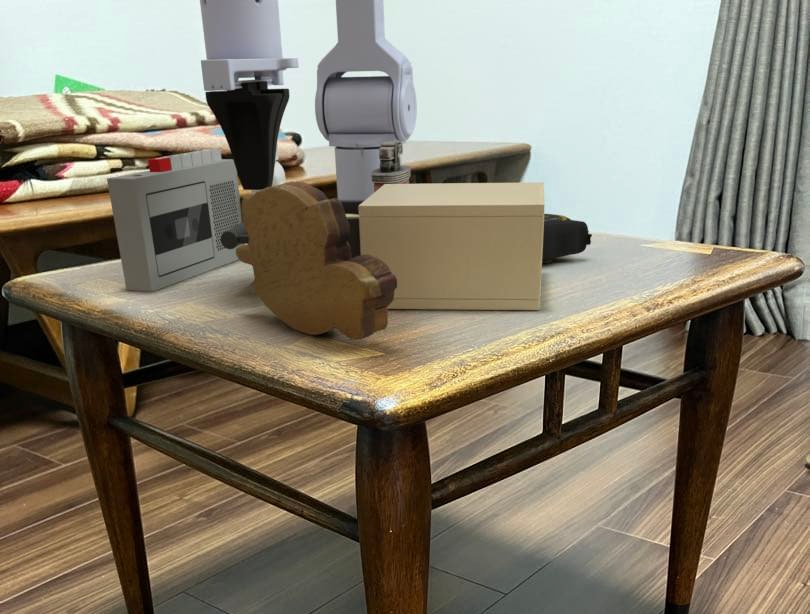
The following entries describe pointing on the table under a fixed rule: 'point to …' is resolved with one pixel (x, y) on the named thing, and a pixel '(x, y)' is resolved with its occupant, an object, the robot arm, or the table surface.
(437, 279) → the lidded cardboard box
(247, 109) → the robot arm
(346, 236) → the wooden carving
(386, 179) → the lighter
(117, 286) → the table surface
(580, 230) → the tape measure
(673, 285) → the table surface
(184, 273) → the cassette player
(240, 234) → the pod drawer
